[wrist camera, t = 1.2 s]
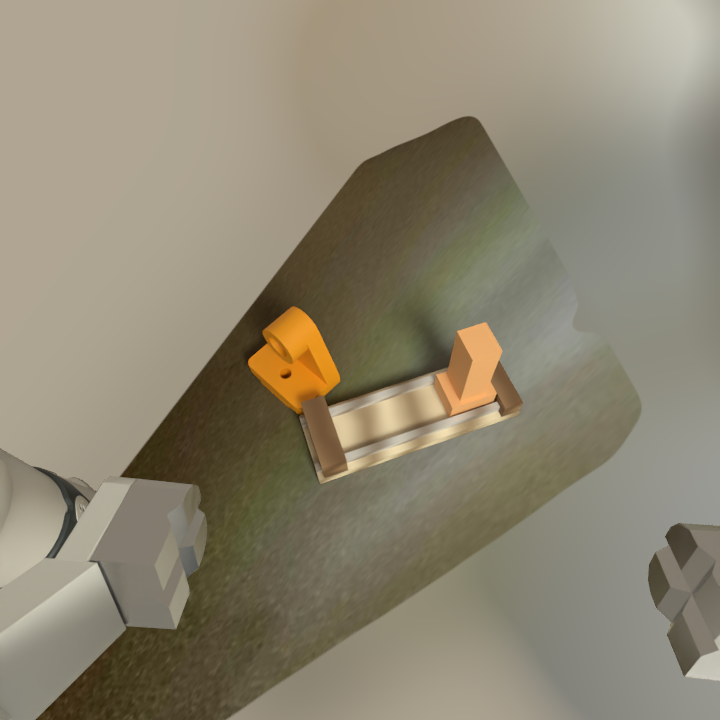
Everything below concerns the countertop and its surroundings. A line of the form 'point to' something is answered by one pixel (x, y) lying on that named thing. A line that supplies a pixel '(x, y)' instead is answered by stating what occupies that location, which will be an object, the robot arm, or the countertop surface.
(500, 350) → the slider
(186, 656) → the countertop surface
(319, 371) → the bracket
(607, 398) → the countertop surface
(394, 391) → the rail board
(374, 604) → the countertop surface
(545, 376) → the countertop surface
